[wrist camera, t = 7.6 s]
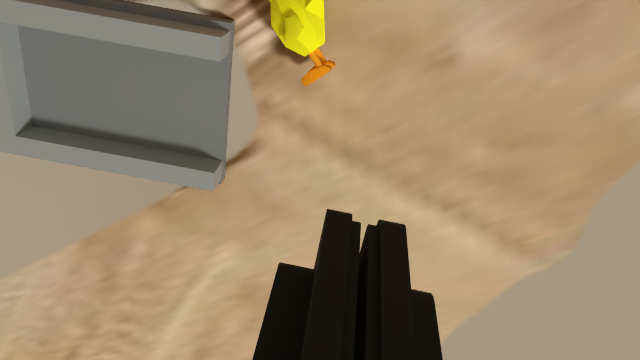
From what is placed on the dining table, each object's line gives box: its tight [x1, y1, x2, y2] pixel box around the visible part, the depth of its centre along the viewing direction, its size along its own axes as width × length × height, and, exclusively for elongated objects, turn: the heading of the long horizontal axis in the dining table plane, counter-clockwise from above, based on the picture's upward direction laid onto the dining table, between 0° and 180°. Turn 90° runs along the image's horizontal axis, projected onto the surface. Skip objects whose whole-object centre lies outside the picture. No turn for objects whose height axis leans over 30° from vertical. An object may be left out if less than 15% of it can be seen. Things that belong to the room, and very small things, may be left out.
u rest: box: [0, 0, 235, 191], centre depth 33 cm, size 12×16×3 cm
